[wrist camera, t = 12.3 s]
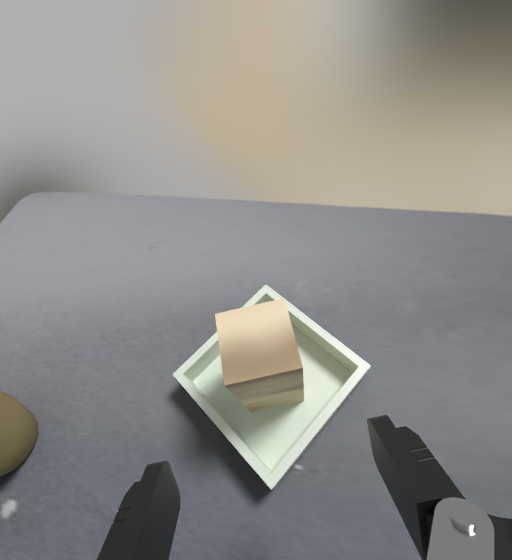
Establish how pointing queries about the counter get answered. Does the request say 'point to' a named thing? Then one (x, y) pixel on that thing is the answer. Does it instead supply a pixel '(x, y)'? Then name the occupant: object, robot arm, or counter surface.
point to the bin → (281, 419)
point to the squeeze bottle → (15, 433)
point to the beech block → (260, 355)
